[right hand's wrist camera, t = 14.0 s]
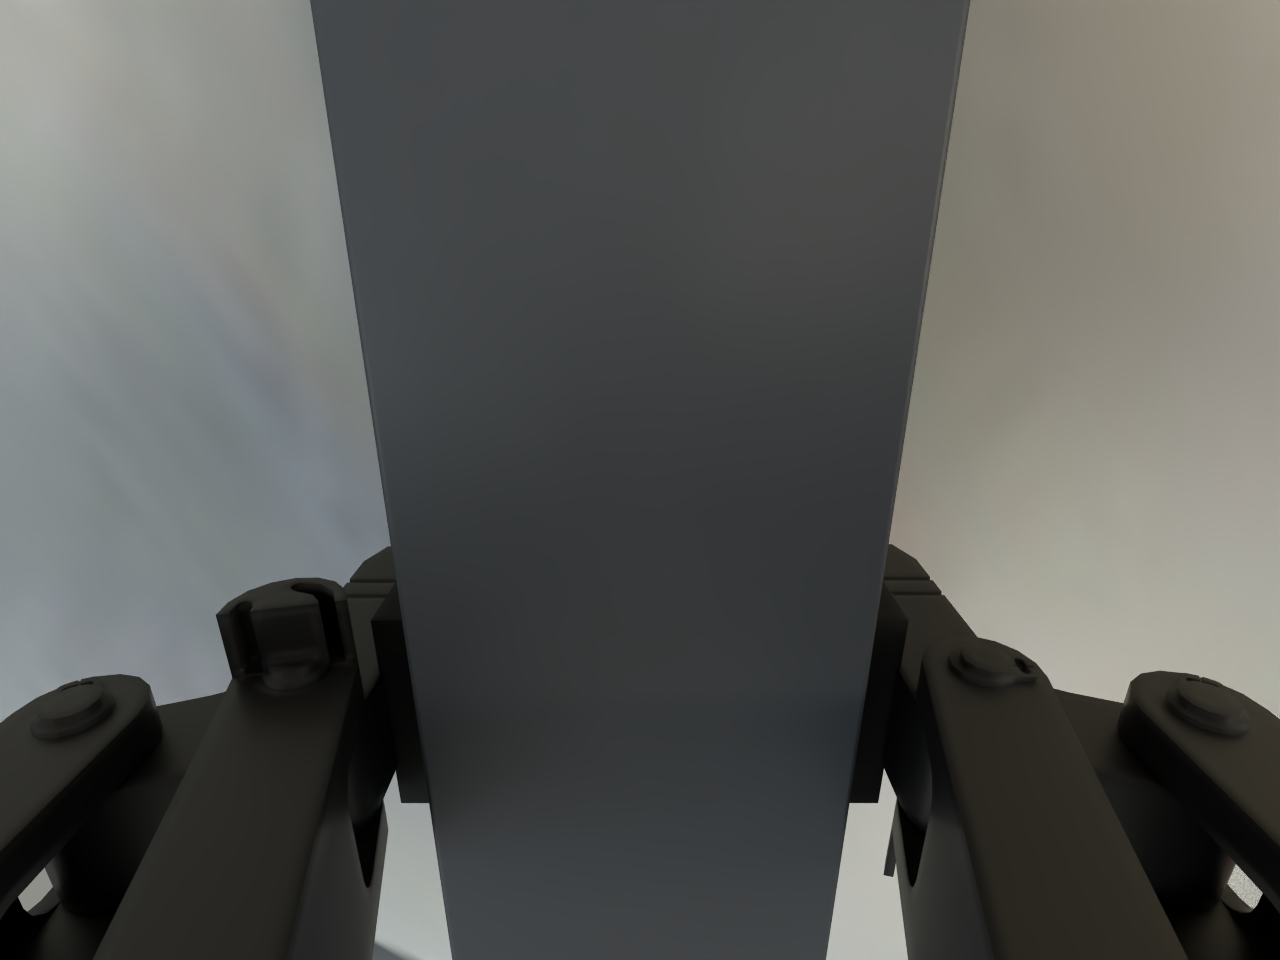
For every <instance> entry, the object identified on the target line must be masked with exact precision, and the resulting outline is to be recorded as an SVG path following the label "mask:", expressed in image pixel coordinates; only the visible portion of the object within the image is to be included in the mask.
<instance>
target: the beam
mask: <svg viewBox="0 0 1280 960" xmlns="http://www.w3.org/2000/svg"><path fill="white" fill-rule="evenodd" d="M310 2H311V9H312V15H313V22H314V29H315V35H316V42H317V49H318V56H319V62H320V69H321V76H322V83H323V89H324V96H325V103H326V110H327V116H328V123H329V130H330V137H331V143H332V150H333V157H334V164H335V170H336V177H337V184H338V191H339V197H340V204H341V211H342V218H343V224H344V231H345V238H346V245H347V251H348V258H349V265H350V272H351V278H352V285H353V292H354V299H355V305H356V312H357V319H358V326H359V332H360V339H361V346H362V353H363V359H364V366H365V373H366V380H367V386H368V393H369V400H370V407H371V413H372V420H373V427H374V434H375V440H376V447H377V454H378V461H379V467H380V474H381V481H382V487H383V494H384V501H385V508H386V514H387V521H388V528H389V535H390V541H391V548H392V555H393V562H394V568H395V575H396V582H397V589H398V595H399V602H400V609H401V616H402V622H403V629H404V636H405V643H406V649H407V656H408V663H409V670H410V676H411V683H412V690H413V697H414V703H415V710H416V717H417V724H418V730H419V737H420V744H421V751H422V757H423V764H424V771H425V778H426V784H427V791H428V798H429V805H430V811H431V818H432V825H433V832H434V838H435V845H436V852H437V859H438V865H439V872H440V879H441V886H442V892H443V899H444V906H445V913H446V919H447V926H448V933H449V940H450V946H451V953H452V960H826V955H827V948H828V941H829V935H830V928H831V921H832V915H833V908H834V902H835V895H836V888H837V882H838V875H839V868H840V862H841V855H842V848H843V842H844V835H845V829H846V822H847V815H848V809H849V802H850V795H851V789H852V782H853V775H854V769H855V762H856V755H857V749H858V742H859V736H860V729H861V722H862V716H863V709H864V702H865V696H866V689H867V682H868V676H869V669H870V662H871V656H872V649H873V643H874V636H875V629H876V623H877V616H878V609H879V603H880V596H881V589H882V583H883V576H884V569H885V563H886V556H887V550H888V543H889V536H890V530H891V523H892V516H893V510H894V503H895V496H896V490H897V483H898V476H899V470H900V463H901V457H902V450H903V443H904V437H905V430H906V423H907V417H908V410H909V403H910V397H911V390H912V383H913V377H914V370H915V364H916V357H917V350H918V344H919V337H920V330H921V324H922V317H923V310H924V304H925V297H926V290H927V284H928V277H929V271H930V264H931V257H932V251H933V244H934V237H935V231H936V224H937V217H938V211H939V204H940V197H941V191H942V184H943V178H944V171H945V164H946V158H947V151H948V144H949V138H950V131H951V124H952V118H953V111H954V104H955V98H956V91H957V85H958V78H959V71H960V65H961V58H962V51H963V45H964V38H965V31H966V25H967V18H968V11H969V5H970V0H310Z"/></svg>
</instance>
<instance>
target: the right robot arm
mask: <svg viewBox="0 0 1280 960" xmlns="http://www.w3.org/2000/svg"><path fill="white" fill-rule="evenodd" d="M216 617H217V621H218V625H219V629H220V633H221V636H222V640H223V644H224V648H225V651H226V655H227V659H228V663H229V667H230V670H231V674H232V680H231V682H230V684H229V686H228V688H227V690H226V692H223V693H219V694H215V695H212V696H207V697H202V698H197V699H192V700H187V701H182V702H176V703H171V704H166V705H161V706H156V704H155V701H154V698H153V694H152V691H151V688H150V685H149V684H147V683H146V682H145V681H144V680H142V679H141V678H140V677H136V676H129V675H122V674H117V675H107V676H98V677H90V678H85V679H81V681H78V680H77V681H74V682H71V683H68V684H65V685H62V686H60V687H59V688H58V689H56V690H53V691H51V692H49V693H47V694H44V695H42V696H40V697H37V698H36V699H34V700H33V701H31V702H30V703H28V704H27V705H25V706H23V707H22V708H20V709H19V710H17V711H16V712H14V713H13V714H11V715H10V716H9V717H8V718H6V719H5V720H4V721H3V722H1V723H0V960H372V955H373V947H374V939H375V931H376V924H377V916H378V908H379V900H380V892H381V884H382V876H383V868H384V860H385V852H386V844H387V836H388V825H387V818H386V812H385V806H384V801H383V798H384V796H385V794H386V791H387V789H388V787H389V784H390V782H391V780H392V778H393V775H394V773H395V771H396V774H397V780H398V786H399V792H400V798H401V803H429V798H428V791H427V784H426V778H425V771H424V764H423V757H422V751H421V744H420V737H419V730H418V724H417V717H416V710H415V703H414V697H413V690H412V683H411V676H410V670H409V663H408V656H407V649H406V643H405V636H404V629H403V622H402V616H401V609H400V602H399V595H398V589H397V582H396V575H395V568H394V562H393V555H392V548H391V547H387V548H385V549H383V550H382V551H380V552H379V553H377V554H375V555H374V556H372V557H370V558H369V559H367V560H366V561H364V562H363V563H362V564H361V566H360V567H359V568H358V570H357V571H356V572H355V573H354V575H353V576H352V577H351V579H350V583H347V584H346V585H345V586H344V587H342V586H340V585H339V584H338V583H336V582H335V581H330V580H326V579H321V578H294V579H289V580H283V581H278V582H273V583H269V584H267V585H264V586H261V587H258V588H255V589H252V590H250V591H247V592H245V593H244V594H242V595H240V596H238V597H237V598H235V599H233V600H231V601H230V602H228V603H227V604H226V605H225V606H224V607H223V608H222V609H221V610H220V611H219V612H218V613H217V614H216ZM884 769H885V771H886V773H887V776H888V778H889V780H890V783H891V785H892V787H893V789H894V792H895V794H896V796H897V801H896V806H895V812H894V817H893V823H892V828H891V834H890V839H889V845H888V850H887V856H886V862H885V869H884V875H886V876H891V877H893V875H894V870H895V864H896V866H897V874H898V882H899V890H900V898H901V906H902V914H903V922H904V930H905V938H906V946H907V954H908V960H1280V719H1279V718H1277V717H1276V716H1275V715H1274V714H1272V713H1271V712H1270V711H1268V710H1267V709H1265V708H1264V707H1262V706H1261V705H1259V704H1258V703H1256V702H1255V701H1253V700H1251V699H1250V698H1248V697H1247V696H1245V695H1244V694H1242V693H1239V692H1237V691H1235V690H1232V689H1230V688H1228V687H1226V686H1223V685H1222V684H1221V683H1219V682H1217V681H1214V680H1211V679H1208V678H1204V677H1202V678H1200V677H1199V676H1197V675H1192V674H1187V673H1176V672H1166V671H1155V672H1149V673H1142V674H1140V675H1139V676H1137V677H1136V678H1135V679H1134V680H1132V681H1131V682H1130V685H1129V688H1128V691H1127V694H1126V698H1125V701H1124V703H1119V702H1114V701H1109V700H1104V699H1099V698H1094V697H1089V696H1084V695H1079V694H1074V693H1069V692H1065V691H1061V690H1057V689H1053V687H1052V685H1051V683H1050V681H1049V679H1048V677H1047V676H1046V675H1045V674H1044V672H1043V671H1042V670H1041V669H1040V667H1039V666H1038V665H1037V664H1036V663H1035V662H1034V661H1032V660H1031V659H1029V658H1028V657H1026V656H1025V655H1023V654H1022V653H1020V652H1019V651H1017V650H1015V649H1012V648H1010V647H1008V646H1005V645H1003V644H1000V643H998V642H995V641H991V640H987V639H982V638H978V637H977V636H976V635H975V634H974V632H973V631H972V630H971V629H970V627H969V626H968V625H967V623H966V622H965V621H964V620H963V618H962V617H961V616H960V615H959V613H958V612H957V611H956V609H955V608H954V607H953V606H952V604H951V603H950V602H949V601H948V599H947V598H946V597H945V596H944V595H941V590H940V589H939V588H938V587H937V585H936V584H935V583H934V582H933V580H930V576H929V575H928V574H927V573H926V571H925V570H924V569H923V568H922V566H921V565H920V564H919V562H918V561H917V560H916V559H915V558H913V557H911V556H910V555H908V554H907V553H905V552H903V551H902V550H900V549H898V548H897V547H895V546H894V545H892V544H888V550H887V556H886V563H885V569H884V576H883V583H882V589H881V596H880V603H879V609H878V616H877V623H876V629H875V636H874V643H873V649H872V656H871V662H870V669H869V676H868V682H867V689H866V696H865V702H864V709H863V716H862V722H861V729H860V736H859V742H858V749H857V755H856V762H855V769H854V775H853V782H852V789H851V795H850V802H849V803H878V800H879V794H880V788H881V782H882V776H883V770H884ZM1236 864H1237V865H1238V866H1239V867H1240V869H1241V870H1242V871H1243V872H1244V873H1245V874H1246V875H1247V876H1248V877H1249V878H1250V879H1251V881H1252V882H1253V883H1254V884H1255V885H1256V886H1257V887H1258V888H1259V889H1260V890H1261V891H1262V892H1263V894H1262V896H1261V898H1260V900H1259V902H1258V905H1257V906H1256V907H1255V908H1254V909H1252V908H1250V907H1249V906H1248V905H1247V904H1246V903H1245V902H1244V901H1242V900H1241V899H1240V898H1239V897H1238V896H1237V895H1236V893H1235V892H1234V891H1233V890H1232V889H1231V888H1230V887H1229V885H1228V884H1227V883H1228V881H1229V878H1230V876H1231V874H1232V872H1233V869H1234V867H1235V865H1236ZM44 867H45V869H46V872H47V874H48V876H49V879H50V881H51V883H52V885H53V888H52V889H51V890H50V891H49V892H48V893H47V894H46V896H45V897H44V898H43V899H42V900H41V901H40V902H39V903H38V904H36V905H35V906H34V907H33V908H32V909H30V910H29V911H28V912H27V911H26V910H24V909H23V907H22V905H21V903H20V901H19V899H18V896H19V895H20V894H21V893H22V892H23V890H24V889H25V888H26V887H27V886H28V885H29V884H30V883H31V882H32V881H33V880H34V878H35V877H36V876H37V875H38V874H39V873H40V872H41V871H42V870H43V869H44Z"/></svg>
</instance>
